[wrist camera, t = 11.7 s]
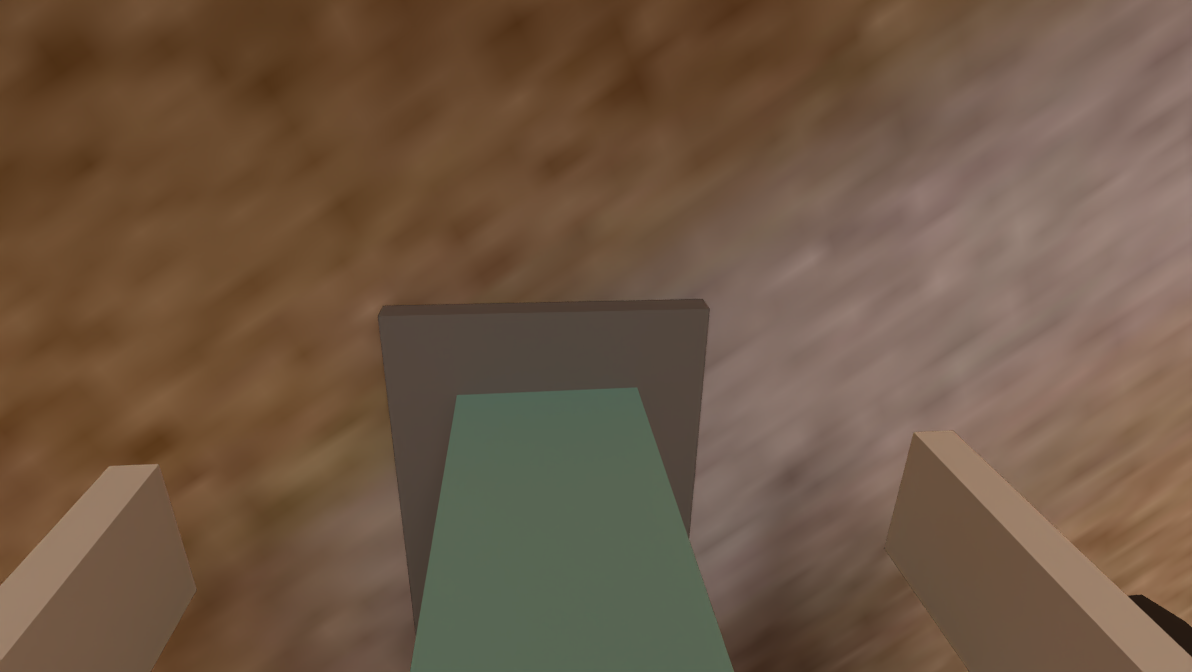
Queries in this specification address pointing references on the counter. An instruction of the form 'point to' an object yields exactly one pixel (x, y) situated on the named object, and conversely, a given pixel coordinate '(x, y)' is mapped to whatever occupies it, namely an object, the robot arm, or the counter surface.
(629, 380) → the pad
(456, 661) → the banded gift box
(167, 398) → the counter surface
